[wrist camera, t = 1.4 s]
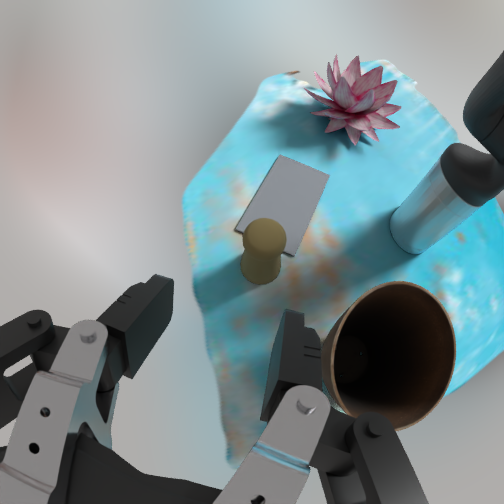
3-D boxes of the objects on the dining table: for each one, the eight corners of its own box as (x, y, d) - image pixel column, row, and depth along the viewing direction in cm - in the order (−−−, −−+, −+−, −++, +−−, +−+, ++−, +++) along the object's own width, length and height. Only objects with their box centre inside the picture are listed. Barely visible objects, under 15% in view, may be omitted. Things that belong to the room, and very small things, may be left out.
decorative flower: (283, 102, 55) (290, 48, 41) (352, 92, 59) (367, 47, 45) (334, 167, 48) (358, 107, 34) (405, 148, 52) (432, 102, 38)
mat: (279, 155, 49) (279, 154, 48) (329, 176, 47) (329, 175, 47) (235, 229, 43) (235, 228, 43) (294, 256, 41) (294, 255, 41)
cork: (288, 262, 41) (302, 230, 31) (263, 292, 39) (269, 269, 29) (257, 239, 42) (261, 200, 32) (231, 267, 41) (227, 235, 30)
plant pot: (399, 327, 37) (466, 306, 23) (370, 416, 32) (432, 438, 17) (317, 296, 39) (358, 259, 24) (280, 391, 34) (304, 415, 19)
